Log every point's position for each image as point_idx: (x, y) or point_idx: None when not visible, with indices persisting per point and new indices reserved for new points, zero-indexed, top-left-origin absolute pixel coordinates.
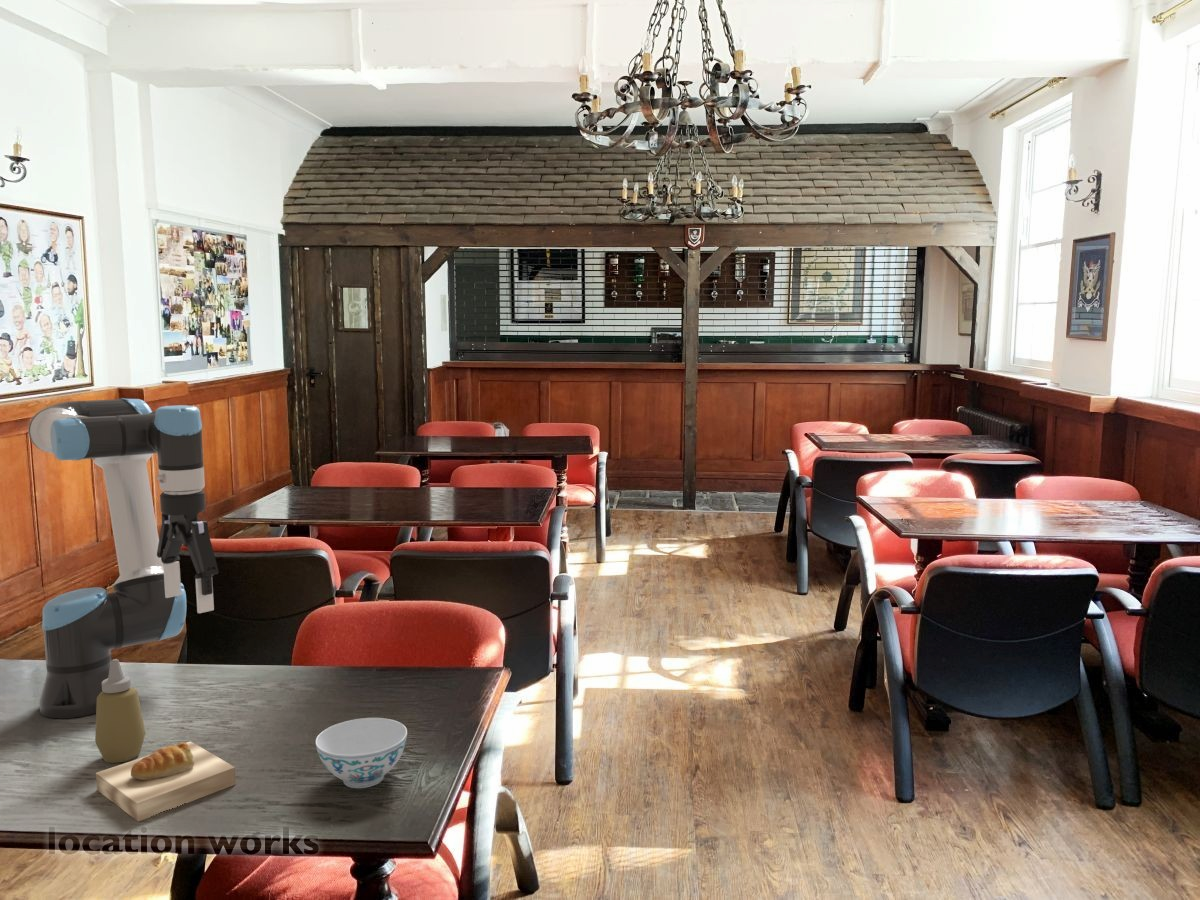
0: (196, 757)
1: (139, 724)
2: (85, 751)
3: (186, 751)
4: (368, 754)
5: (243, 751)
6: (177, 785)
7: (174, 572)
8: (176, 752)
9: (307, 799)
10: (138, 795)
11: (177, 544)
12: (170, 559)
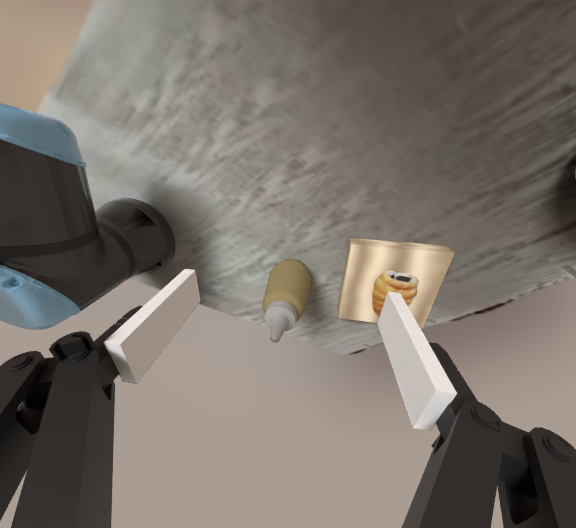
0: (393, 261)
1: (306, 279)
2: (256, 281)
3: (413, 288)
4: None
5: (387, 198)
6: (428, 299)
7: (153, 329)
8: (410, 297)
9: (554, 223)
10: None
11: (94, 492)
12: (102, 374)
